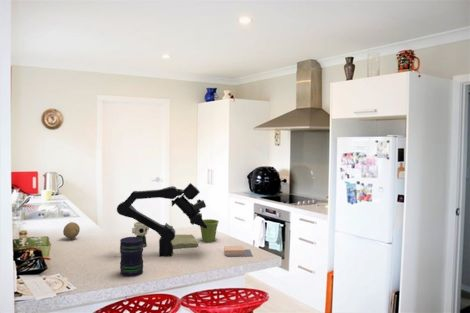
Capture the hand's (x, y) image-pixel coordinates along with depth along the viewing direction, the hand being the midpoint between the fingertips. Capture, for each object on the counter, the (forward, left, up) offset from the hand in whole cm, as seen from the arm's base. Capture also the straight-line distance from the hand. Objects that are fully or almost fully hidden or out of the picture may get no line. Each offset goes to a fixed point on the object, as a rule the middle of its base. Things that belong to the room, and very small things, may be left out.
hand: (206, 227), depth 204 cm
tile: (+9, -1, -12) cm, 15 cm away
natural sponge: (-74, +41, -14) cm, 85 cm away
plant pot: (+4, +26, -14) cm, 30 cm away
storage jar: (-36, -23, -14) cm, 45 cm away
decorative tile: (-13, +22, -14) cm, 29 cm away
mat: (+17, -2, -14) cm, 21 cm away
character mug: (-34, +20, -14) cm, 42 cm away
